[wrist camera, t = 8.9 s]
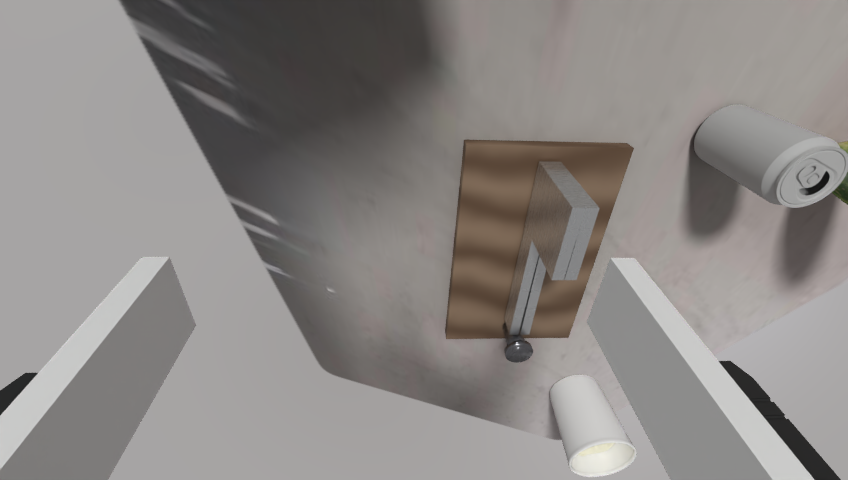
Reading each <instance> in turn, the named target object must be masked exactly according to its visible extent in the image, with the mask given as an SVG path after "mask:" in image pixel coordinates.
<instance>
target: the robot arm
mask: <svg viewBox="0 0 848 480" xmlns="http://www.w3.org/2000/svg"><path fill="white" fill-rule="evenodd" d="M587 323H588V325H589V327H590V329H591V331H592V332H593V334H594V336H595V338H596V340H597V342H598V344H599V346H600V348H601V349H602V351H603V353H604V355H605V357H606V359H607V361H608V363H609V364H610V366H611V368H612V370H613V372H614V374H615V376H616V378H617V380H618V381H619V383H620V385H621V387H622V389H623V391H624V393H625V395H626V396H627V398H628V400H629V402H630V404H631V406H632V408H633V410H634V411H635V413H636V415H637V417H638V419H639V421H640V423H641V425H642V427H643V428H644V430H645V432H646V434H647V436H648V438H649V440H650V442H651V443H652V445H653V447H654V449H655V451H656V453H657V455H658V456H659V459H660V460H661V462H662V464H663V466H664V468H665V470H666V472H667V474H668V476H669V477H670V479H671V480H840V478H839V477H838V476H837V475H836V474H835V473H834V471H833V470H832V469H831V468H830V467H829V466H828V464H827V463H826V462H825V461H824V460H823V459H822V457H821V456H820V455H819V454H818V453H817V452H816V451H815V449H814V448H813V447H812V446H811V445H810V444H809V442H808V441H807V440H806V439H805V438H804V437H803V436H802V434H801V433H800V432H799V431H798V430H797V428H796V427H795V426H794V425H793V424H792V423H791V422H790V420H789V419H786V418H785V417H784V413H782V411H781V410H780V409H779V408H778V407H777V406H776V404H775V403H774V402H771V401H770V397H769V396H768V395H767V394H766V393H765V391H764V390H763V389H762V388H761V387H760V386H759V384H757V382H756V381H755V380H754V379H753V378H752V377H751V376H750V375H748V374H747V373H745V372H744V371H743V370H742V369H740V368H739V367H738V366H736V365H735V364H733V363H732V362H731V361H718V360H717V359H716V358H715V357H714V355H713V354H712V353H711V352H710V350H709V349H708V348H707V347H706V345H705V344H704V343H703V342H702V341H701V339H700V338H699V337H698V336H697V334H696V333H695V332H694V331H693V329H692V328H691V327H690V326H689V325H688V323H687V322H686V321H685V320H684V318H683V317H682V316H681V315H680V313H679V312H678V311H677V310H676V309H675V307H674V306H673V305H672V304H671V302H670V301H669V300H668V299H667V297H666V296H665V295H664V294H663V293H662V291H661V290H660V289H659V288H658V286H657V285H656V284H655V283H654V281H653V280H652V279H651V278H650V277H649V275H648V274H647V273H646V272H645V270H644V269H643V268H642V267H641V265H640V264H639V263H638V262H637V261H636V259H635V258H610V261H609V264H608V266H607V269H606V272H605V274H604V277H603V280H602V282H601V285H600V288H599V291H598V293H597V296H596V299H595V301H594V304H593V307H592V309H591V312H590V315H589V318H588V320H587ZM195 326H196V324H195V322H194V319H193V316H192V314H191V311H190V309H189V306H188V304H187V301H186V298H185V296H184V293H183V291H182V288H181V286H180V283H179V280H178V278H177V275H176V272H175V270H174V267H173V265H172V263H171V260H170V257H141V259H140V260H139V261H138V262H137V263H136V264H135V265H134V266H133V268H132V269H131V270H130V271H129V272H128V273H127V274H126V275H125V276H124V278H123V279H122V280H121V281H120V282H119V283H118V284H117V285H116V287H115V288H114V289H113V290H112V291H111V292H110V293H109V295H108V296H107V297H106V298H105V299H104V300H103V301H102V302H101V303H100V305H99V306H98V307H97V308H96V309H95V310H94V311H93V312H92V314H91V315H90V316H89V317H88V318H87V319H86V320H85V321H84V322H83V324H82V325H81V326H80V327H79V328H78V329H77V330H76V332H74V334H73V335H72V336H71V337H70V338H69V339H68V340H67V341H66V343H65V344H64V345H63V346H62V347H61V348H60V349H59V350H58V352H57V353H56V354H55V355H54V356H53V357H52V358H51V359H50V361H49V362H48V363H47V364H46V365H45V366H44V367H43V368H42V369H41V371H40V372H39V373H25V374H23V375H22V376H20V377H19V378H18V379H16V380H15V381H13V382H12V383H11V384H9V385H8V386H6V387H5V388H3V389H2V390H1V391H0V480H108V479H109V477H110V475H111V473H112V471H113V470H114V468H115V466H116V465H117V463H118V461H119V459H120V458H121V456H122V454H123V452H124V451H125V449H126V447H127V445H128V443H129V442H130V440H131V438H132V437H133V435H134V433H135V431H136V429H137V428H138V426H139V424H140V422H141V421H142V419H143V417H144V415H145V414H146V412H147V410H148V408H149V407H150V405H151V403H152V401H153V400H154V398H155V396H156V394H157V392H158V390H159V389H160V387H161V386H162V384H163V382H164V380H165V379H166V377H167V375H168V373H169V372H170V370H171V368H172V366H173V365H174V363H175V361H176V359H177V358H178V356H179V354H180V352H181V351H182V349H183V347H184V345H185V343H186V342H187V340H188V338H189V337H190V335H191V333H192V331H193V330H194V328H195Z"/></svg>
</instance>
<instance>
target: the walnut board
mask: <svg viewBox="0 0 848 480" xmlns="http://www.w3.org/2000/svg"><path fill="white" fill-rule="evenodd" d="M633 149H634V148H633V147H631V146H630V145H629V144H627V143H591V142H543V141H496V140H464V147H463V157H462V167H461V177H460V187H459V198H458V208H457V218H456V228H455V238H454V248H453V258H452V268H451V278H450V288H449V299H448V309H447V319H446V329H445V333H446V339H481V338H505V335H504V332H503V328H502V325H503V324H504V323H505V319H504V318H505V313H506V309H507V304H508V300H509V295H510V291H511V286H512V282H513V277H514V273H515V268H516V264H517V259H518V255H519V250H520V246H521V241H522V237H523V232H524V228H525V222H526V217H527V213H528V208H529V204H530V199H531V195H532V190H533V186H534V181H535V177H536V172H537V168H538V163H539V161H547V162H562V164H563V165H564V166H565V167H566V168H567V170H568V171H569V172H570V173H571V174H572V176H573V177H574V178H575V179H576V180H577V182H578V183H579V184H580V185H581V186H582V188H583V189H584V190H585V191H586V192H587V194H588V195H589V196H590V197H591V198H592V200H593V201H594V202H595V203H596V204H597V206H598V207H599V212H598V215H597V218H596V221H595V224H594V227H593V230H592V233H591V237H590V240H589V243H588V246H587V249H586V252H585V255H584V258H583V262H582V265H581V268H580V271H579V274H578V277H577V280H551V278H550V276H549V274H548V272H547V270H546V272H545V276H544V280H543V284H542V288H541V291H540V295H539V299H538V303H537V307H536V311H535V314H534V318H533V322H532V326H531V330H530V334H529V335H523V337H524V338H568V337H569V334H570V331H571V328H572V326H573V323H574V320H575V317H576V314H577V311H578V308H579V305H580V302H581V300H582V297H583V294H584V291H585V288H586V285H587V282H588V279H589V276H590V274H591V271H592V268H593V265H594V262H595V259H596V256H597V253H598V250H599V248H600V245H601V242H602V239H603V236H604V233H605V230H606V227H607V224H608V221H609V219H610V216H611V213H612V210H613V207H614V204H615V201H616V198H617V195H618V193H619V190H620V187H621V184H622V181H623V178H624V175H625V172H626V169H627V167H628V164H629V161H630V158H631V155H632V152H633Z"/></svg>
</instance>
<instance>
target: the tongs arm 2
mask: <svg viewBox="0 0 848 480" xmlns="http://www.w3.org/2000/svg"><path fill="white" fill-rule="evenodd" d="M551 164H552V165H553V166H554V167H555V169H556V170H557V171H558V173H559V174H560V175H561V176H562V178H563V179H564V180H565V182H566V183H567V184H568V185H569V187H570V188H571V189H572V191H573V192H574V193H575V194H576V196H577V197H578V198H579V199H580V201H581V202H582V203H583V205H584V206H585V207H586V210H585V213H584V217H583V220H582V223H581V226H580V229H579V233H578V236H577V239H576V242H575V245H574V249H573V252H572V255H571V258H570V261H569V264H568V268H567V271H566V274H565V277H564V280H577V277H578V274H579V271H580V268H581V265H582V262H583V258H584V255H585V252H586V249H587V246H588V243H589V240H590V237H591V233H592V230H593V227H594V224H595V221H596V218H597V215H598V212H599V207H598V206H597V204H596V203H595V202H594V201H593V200H592V198H591V197H590V196H589V195H588V194H587V192H586V191H585V190H584V189H583V188H582V186H581V185H580V184H579V183H578V182H577V180H576V179H575V178H574V177H573V176H572V174H571V173H570V172H569V171H568V170H567V168H566V167H565V166H564V165H563V164H562V162H551ZM545 272H546V268H545V266H544V264H543V262H542V260H541V258H540V256H538V260H537V264H536V268H535V272H534V275H533V279H532V283H531V287H530V291H529V295H528V299H527V303H526V306H525V310H524V314H523V318H522V322H521V326H520V330H519V332H520V335H529V334H530V330H531V326H532V322H533V318H534V314H535V311H536V307H537V303H538V299H539V295H540V291H541V288H542V284H543V280H544V276H545Z"/></svg>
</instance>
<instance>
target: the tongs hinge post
mask: <svg viewBox="0 0 848 480" xmlns="http://www.w3.org/2000/svg"><path fill="white" fill-rule="evenodd" d="M502 328H503V332H504V335H505V339H506V342H507V347H506V348H505V355H506V358H507V359H508V360H509V361H511V362H523V361H525V360H527V359H529V358H530V357H531V356H532V354H533V349H532V346H531V344H530V343H528V342H527V341H525V340H524V337H523V335H520V332H519V334H518V335H509V332H508V329H507V326H506V322H505V323H504V324H503V325H502Z"/></svg>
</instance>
